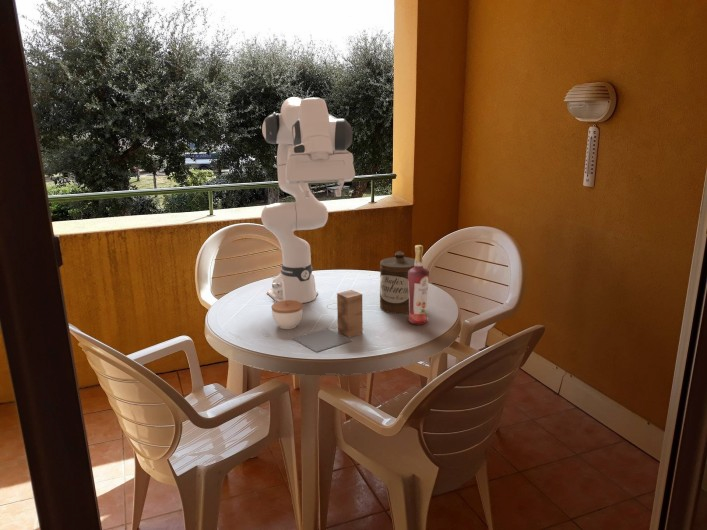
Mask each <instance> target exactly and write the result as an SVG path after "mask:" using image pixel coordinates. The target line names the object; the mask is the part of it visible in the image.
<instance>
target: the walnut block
mask: <svg viewBox="0 0 707 530" xmlns="http://www.w3.org/2000/svg"><path fill="white" fill-rule="evenodd" d="M336 299H337V300H336V305H337V307H336V309H337V311H336V312H337V313H336V314H337V333H338V334H340V335H342V336H344V337H346V338H348V339H350V338H352V337H356V336H358V335H361V334H363V331H364V330H363V329H364V328H363V327H364V325H363V323H364V322H363V293H360V292H358V291H355V290H353V289H349V290H346V291H345V290H344V291H341V292H338V293H336Z"/></svg>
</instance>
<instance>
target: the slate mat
mask: <svg viewBox="0 0 707 530" xmlns="http://www.w3.org/2000/svg"><path fill="white" fill-rule="evenodd" d="M292 340H293V341H295V342H298V343H299V344H301V345H303V346H304V347H305V348H308V349H310V350H311V351H313V352H315V353H319V352H322V351H325V350H329V349H331V348H336V347H337V346H341V345H344V344H347V343H350V342H352V341H353V340H351V339H350V338H348V337H346V336H344V335H342V334H340V333H338V332H337V331H334V330H332V329H330V328H328V327H325V328H322V329H319V330H315V331H312V332H308V333H305V334H302V335H297V336H295V337H292Z"/></svg>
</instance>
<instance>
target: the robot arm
mask: <svg viewBox="0 0 707 530" xmlns="http://www.w3.org/2000/svg"><path fill="white" fill-rule="evenodd" d="M352 129H353V128H352V126H351V124H350V123H349V122H348V121H347V120H346V119H345V118H337V117H335V116H333V115H332V114H330V113H329V111H328V107H327V103H326V101H325V99H324V98H320V97H307V98H301V97H298V96H291V97H288V98H287V99H285V100H284V101H283V102H282V105H281V107H280V113H276V112H275V111H274V112H273V113H272V114H270V115H267V117H265V118H264V119H263V123H262V126H261V130H262V131H261V132H262V136H263V137H264V141H265V142H266V143H267V144H271V145H277V151H276V152H277V153H276V154H277V155H276V165H277V166H276V167H277V182H278V187H279V189H280V190H281V191H282V192H284V193H286V194H289V195H290V196H293V198H294V199H295V201H290V202H287V201H286V202H275V203H270V204H267V205H265V206H264V207H263V209H262V211H261V217H260V219H261V224H262V225H263V227H264V228H265V229H266V230H268V231H269V232H270V233H272V234H273V235H274V236H275V237H276V239H277V240H278V242H279V244H280V249H281V255H282V263H281V264H280V266H279V268H280V273H279V274H278V275H277V276H276V277H274V278H273V280H272V284H271V287H272V288H270V289H268V290H266V294H267V295H268V296H269V297H271V298H272V299H273V300H274V301H275V303H276V302H279V301H284V300H294V301H298V302H301V303H302V304H304V303H308V302H309V303H310V302H311V301H315V299H316V298H317V295H318V294H319V291H318V290H317V289H316V282H315V281H316V280H315V275H314V274H313V264H312V263H311V261H312V259H311V256H312V255H311V245H310V243H309V242H308V241H306V240H305V239H303V238H300V237H298V236H297V235H295V233H294V232H295V231H303V230H304V231H308V230H316V229H319V228H323V227H325V225H326V224H327V223H328V222H327V221H328V219H329V211H328V209H327V207H326V205H325V204H324V203H322V201H320V200H318V199H317V198H316V196H314V194H313V192H312V191H311V189H310V187H309V184H319V183H320V184H322V183H323V184H325V183H337V186H339V187H338V189H335V190H334V194H335V197H342V189H343V187H344V184H345V182H352V181H353V180H354V179H355V177H356V172H355V167H354V155H353V153H352V152H350V151H348V149H349V147H350V146H351V145H352V143H353V137H354V135H353V130H352Z"/></svg>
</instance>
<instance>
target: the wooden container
mask: <svg viewBox="0 0 707 530" xmlns="http://www.w3.org/2000/svg"><path fill="white" fill-rule="evenodd" d="M394 256H395V257H394ZM394 256H393V257H387V258H383V259H381V260H380V262H379V269H380V270H379V271H380V272H379V273H380V274H379V275H380V276H379V278H380V279H379V308H380V310H382V311H383V312H386V313H390V314H396V315H397V314H399V315H400V314H401V315H402V314H403V315H404V314H409V290H408V271H409V270H410V269H411V268H414V265H415V258H412V257H408V256H407V257H406V256H405V253H404V252H402V251H397V252H395V253H394Z"/></svg>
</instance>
